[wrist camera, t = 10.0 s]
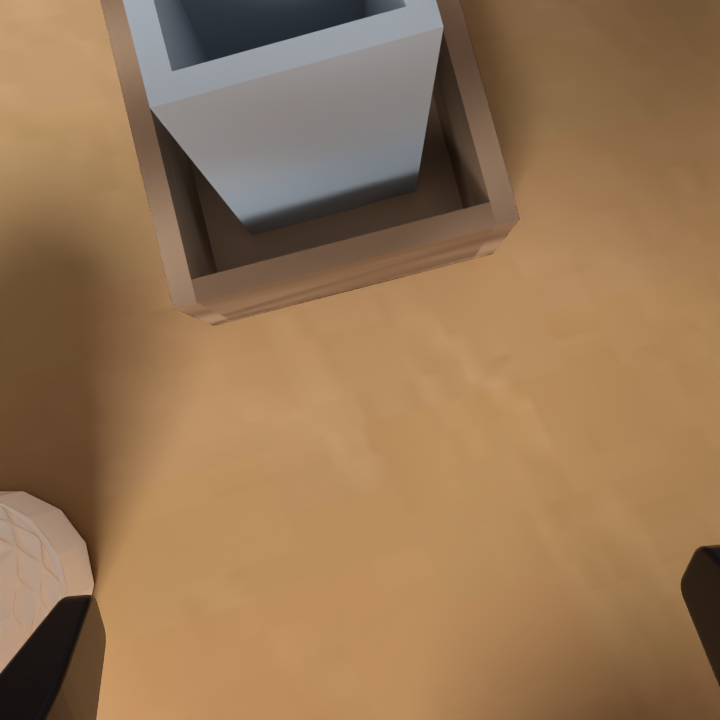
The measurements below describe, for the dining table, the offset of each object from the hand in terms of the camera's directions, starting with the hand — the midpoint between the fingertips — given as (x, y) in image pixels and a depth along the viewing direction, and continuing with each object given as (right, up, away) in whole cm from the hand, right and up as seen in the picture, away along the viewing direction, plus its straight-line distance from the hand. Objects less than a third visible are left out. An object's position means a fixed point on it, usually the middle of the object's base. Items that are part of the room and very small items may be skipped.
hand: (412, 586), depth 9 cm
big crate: (-2, +11, +14) cm, 18 cm away
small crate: (-2, +11, +13) cm, 17 cm away
